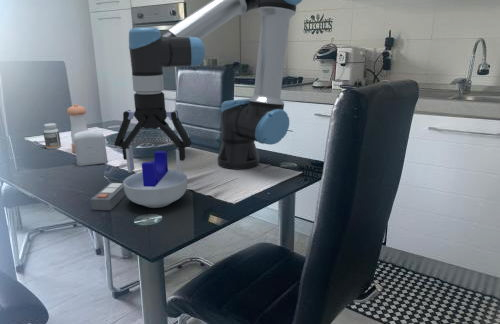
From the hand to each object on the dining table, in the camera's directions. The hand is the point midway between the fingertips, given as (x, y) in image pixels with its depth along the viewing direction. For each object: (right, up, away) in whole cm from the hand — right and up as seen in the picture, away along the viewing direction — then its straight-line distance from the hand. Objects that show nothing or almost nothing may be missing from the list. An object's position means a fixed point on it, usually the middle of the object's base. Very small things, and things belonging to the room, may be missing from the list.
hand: (155, 171), depth 103 cm
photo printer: (-32, +2, +35) cm, 48 cm away
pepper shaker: (-43, +7, +51) cm, 67 cm away
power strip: (-13, -8, +4) cm, 16 cm away
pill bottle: (-57, +9, +57) cm, 81 cm away
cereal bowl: (0, -9, +2) cm, 9 cm away
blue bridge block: (0, -2, 0) cm, 2 cm away
